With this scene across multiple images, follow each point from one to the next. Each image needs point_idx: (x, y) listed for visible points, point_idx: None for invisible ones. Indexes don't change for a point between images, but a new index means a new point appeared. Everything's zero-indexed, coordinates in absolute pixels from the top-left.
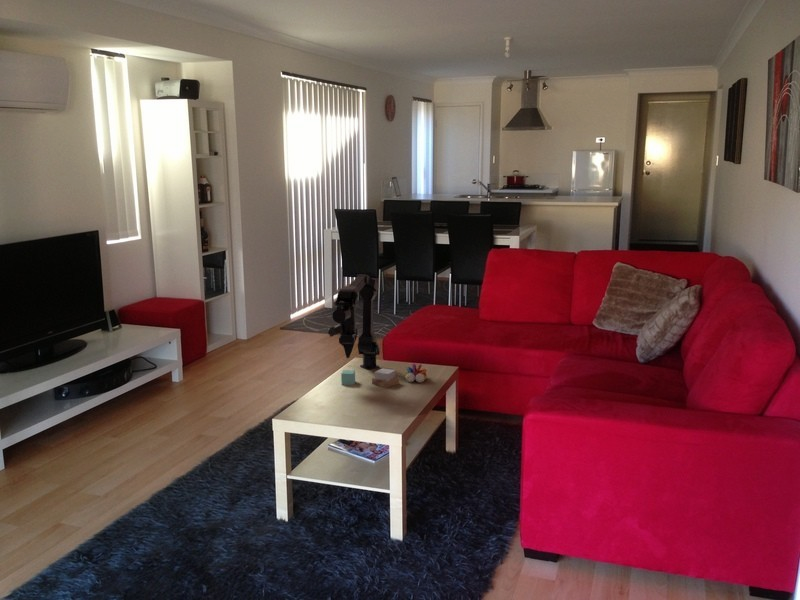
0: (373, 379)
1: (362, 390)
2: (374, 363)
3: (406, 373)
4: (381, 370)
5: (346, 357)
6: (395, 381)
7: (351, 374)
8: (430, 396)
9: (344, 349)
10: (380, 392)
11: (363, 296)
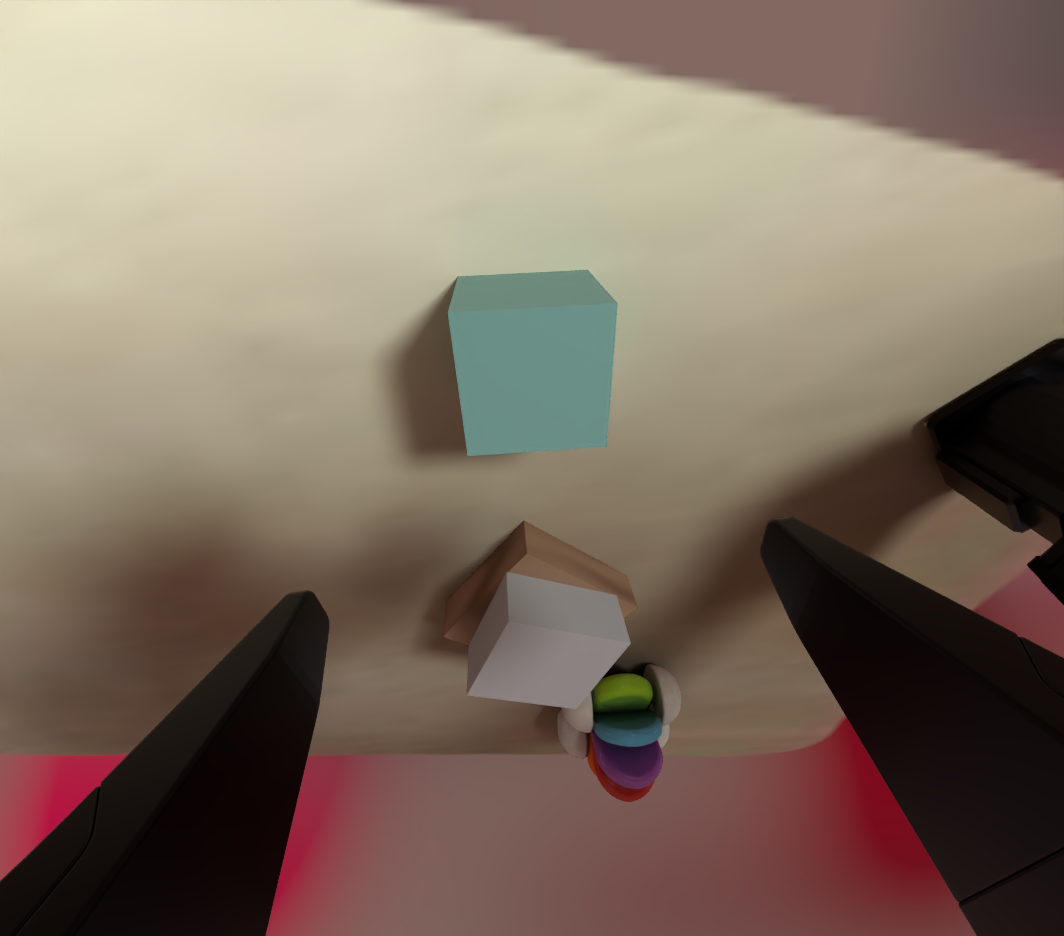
0: (515, 559)
1: (345, 492)
2: (969, 492)
3: (622, 697)
4: (563, 650)
5: (281, 602)
6: None
7: (465, 434)
8: (362, 754)
9: (23, 861)
10: (343, 595)
11: None
